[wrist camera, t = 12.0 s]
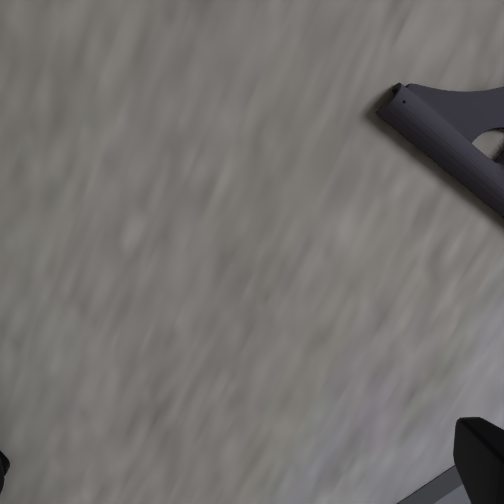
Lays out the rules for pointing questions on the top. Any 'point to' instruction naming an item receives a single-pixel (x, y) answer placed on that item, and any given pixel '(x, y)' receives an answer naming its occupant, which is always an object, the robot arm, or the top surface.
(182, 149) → the top surface
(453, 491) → the far plate
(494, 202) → the squeegee
